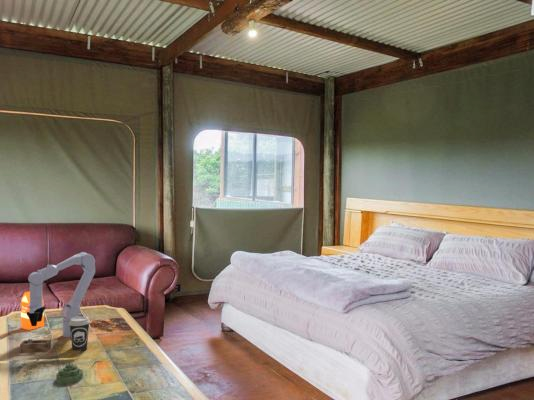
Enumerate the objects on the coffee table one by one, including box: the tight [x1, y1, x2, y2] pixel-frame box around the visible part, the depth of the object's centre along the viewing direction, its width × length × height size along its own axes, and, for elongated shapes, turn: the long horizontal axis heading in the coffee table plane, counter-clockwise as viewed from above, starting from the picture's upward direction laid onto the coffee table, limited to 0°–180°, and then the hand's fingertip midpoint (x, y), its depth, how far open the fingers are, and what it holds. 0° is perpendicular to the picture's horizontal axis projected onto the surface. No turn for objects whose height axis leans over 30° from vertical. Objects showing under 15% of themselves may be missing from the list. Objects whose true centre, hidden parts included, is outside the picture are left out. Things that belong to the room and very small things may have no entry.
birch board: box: [16, 339, 59, 357], centre depth 226 cm, size 13×20×1 cm, turn 9°
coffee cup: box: [69, 315, 91, 353], centre depth 226 cm, size 10×10×15 cm
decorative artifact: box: [55, 361, 84, 385], centre depth 193 cm, size 10×7×10 cm
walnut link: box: [19, 338, 52, 353], centre depth 222 cm, size 12×6×4 cm, turn 99°
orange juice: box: [20, 290, 45, 330], centre depth 261 cm, size 8×9×20 cm
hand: (36, 323), depth 234 cm, fingers open, 7 cm apart
